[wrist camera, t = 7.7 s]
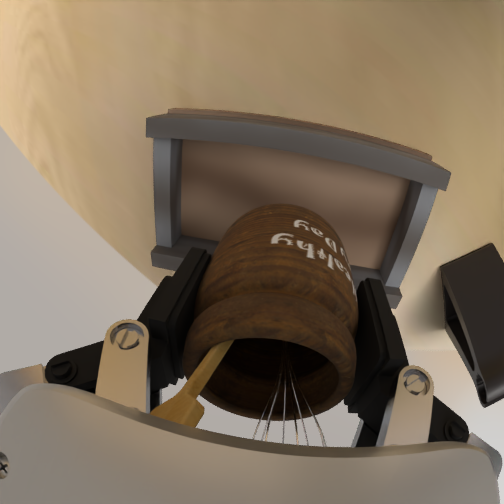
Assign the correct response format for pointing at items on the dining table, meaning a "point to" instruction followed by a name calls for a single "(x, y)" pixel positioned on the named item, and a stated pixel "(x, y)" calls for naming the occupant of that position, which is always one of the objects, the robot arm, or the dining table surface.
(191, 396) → the utensil holder
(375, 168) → the gray framed rectangular tray
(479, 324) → the phone stand
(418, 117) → the dining table surface
